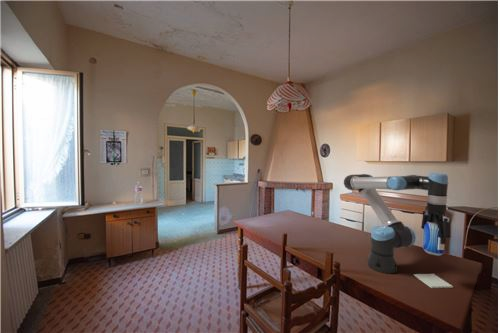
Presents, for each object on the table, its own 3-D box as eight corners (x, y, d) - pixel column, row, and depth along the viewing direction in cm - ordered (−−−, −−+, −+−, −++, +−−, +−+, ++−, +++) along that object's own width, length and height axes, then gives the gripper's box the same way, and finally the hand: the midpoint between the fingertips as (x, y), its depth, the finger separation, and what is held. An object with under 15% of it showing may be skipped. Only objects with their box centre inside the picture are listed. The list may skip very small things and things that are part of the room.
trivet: (431, 288, 105) (431, 286, 105) (413, 275, 116) (413, 274, 116) (452, 287, 105) (452, 286, 105) (433, 275, 116) (433, 273, 116)
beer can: (423, 247, 117) (425, 219, 116) (443, 252, 111) (445, 222, 110) (422, 252, 111) (423, 222, 110) (443, 258, 105) (445, 226, 104)
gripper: (463, 208, 99) (460, 255, 100) (426, 199, 118) (424, 238, 120) (448, 208, 99) (445, 255, 100) (414, 199, 118) (412, 238, 120)
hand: (434, 246), depth 110 cm, fingers closed on beer can, 7 cm apart
